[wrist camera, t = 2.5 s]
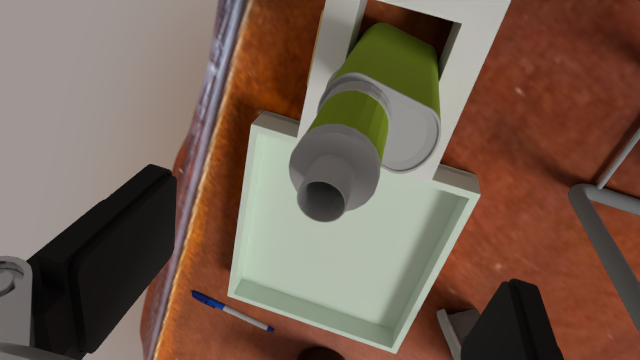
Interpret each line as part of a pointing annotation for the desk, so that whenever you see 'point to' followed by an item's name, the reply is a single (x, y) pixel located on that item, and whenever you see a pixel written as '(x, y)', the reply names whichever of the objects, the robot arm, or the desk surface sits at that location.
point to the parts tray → (343, 243)
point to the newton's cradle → (632, 292)
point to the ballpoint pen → (229, 310)
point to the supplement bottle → (318, 354)
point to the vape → (368, 123)
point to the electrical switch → (457, 328)
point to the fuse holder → (453, 67)
